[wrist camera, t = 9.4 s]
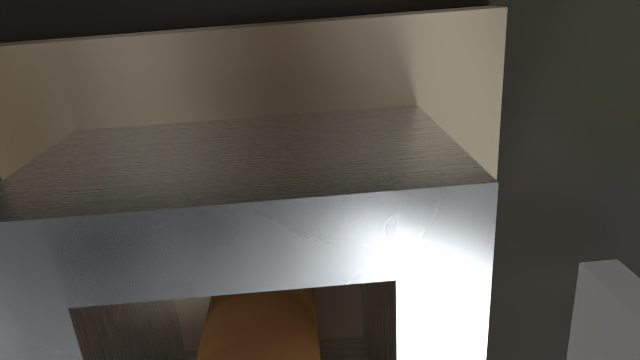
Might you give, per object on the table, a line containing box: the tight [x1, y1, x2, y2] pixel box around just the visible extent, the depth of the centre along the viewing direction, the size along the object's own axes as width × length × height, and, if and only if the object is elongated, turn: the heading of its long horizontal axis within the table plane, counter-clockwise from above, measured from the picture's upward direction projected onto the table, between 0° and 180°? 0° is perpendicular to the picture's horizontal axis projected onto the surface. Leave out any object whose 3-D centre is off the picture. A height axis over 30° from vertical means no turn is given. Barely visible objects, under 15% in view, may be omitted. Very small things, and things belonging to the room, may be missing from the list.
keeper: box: [0, 5, 507, 360], centre depth 11 cm, size 12×12×7 cm
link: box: [0, 105, 499, 360], centre depth 11 cm, size 8×8×5 cm
